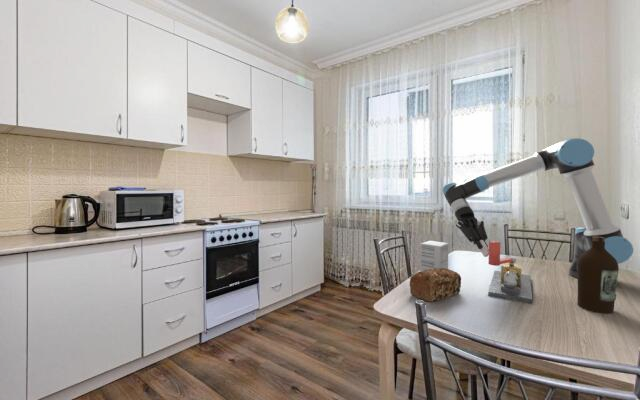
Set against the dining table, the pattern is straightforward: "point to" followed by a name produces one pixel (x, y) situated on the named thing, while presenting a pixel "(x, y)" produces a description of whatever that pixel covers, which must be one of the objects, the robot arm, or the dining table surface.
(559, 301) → the dining table surface
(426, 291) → the bread
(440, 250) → the supplement box
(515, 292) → the valve pipe
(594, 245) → the olive oil
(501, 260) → the lever
